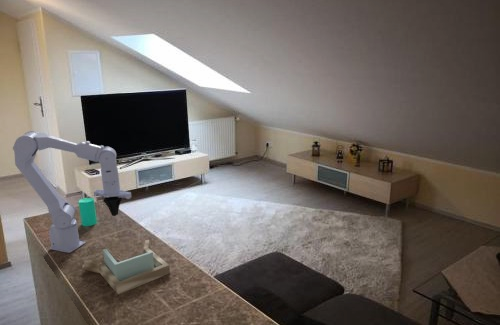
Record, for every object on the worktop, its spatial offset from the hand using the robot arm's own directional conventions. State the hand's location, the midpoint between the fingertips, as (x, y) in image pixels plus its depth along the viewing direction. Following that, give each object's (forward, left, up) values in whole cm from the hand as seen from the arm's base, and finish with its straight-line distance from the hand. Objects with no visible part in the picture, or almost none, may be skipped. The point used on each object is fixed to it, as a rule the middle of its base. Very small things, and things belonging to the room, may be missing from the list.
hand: (115, 214), depth 141 cm
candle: (-22, +9, -11) cm, 26 cm away
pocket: (+18, -16, -10) cm, 26 cm away
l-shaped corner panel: (+18, -17, -11) cm, 27 cm away
